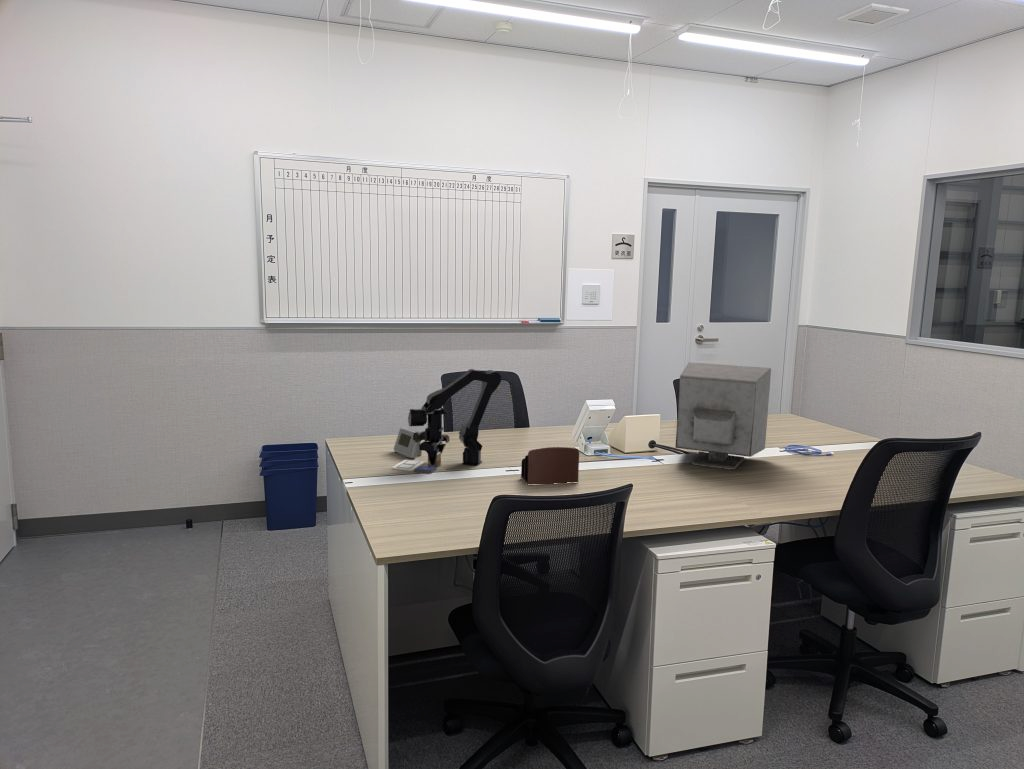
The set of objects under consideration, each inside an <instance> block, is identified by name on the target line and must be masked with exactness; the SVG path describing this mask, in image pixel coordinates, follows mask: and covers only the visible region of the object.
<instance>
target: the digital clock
mask: <svg viewBox="0 0 1024 769" xmlns="http://www.w3.org/2000/svg"><path fill="white" fill-rule="evenodd" d="M415 432H417V431H416V430H413V429H410V428H406V427H404V426H403V427H400V428H399V430H398V433H397V437H396V440H395V443H394V446H393V451H394V452H395V453H397V454H399V455H401V456H404V457H406V458H408V459H415V458H416V457H421V456H422V450H419V445H420V444H421V443H422V441H418V442H417V443H416V442H415V440H413V435H414V433H415Z"/></svg>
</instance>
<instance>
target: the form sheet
mask: <svg viewBox="0 0 1024 769" xmlns="http://www.w3.org/2000/svg"><path fill="white" fill-rule="evenodd" d="M425 464H426V461H423V460H413V459H403V460H402V461H400V462H399V463H396V464H395V465H393V466H392V467H391V469H392V470H397V471H398V470H401V471H409V472H413V471H414V469H416V468H417V467H419V466H420V465H425Z"/></svg>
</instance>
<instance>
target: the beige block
mask: <svg viewBox="0 0 1024 769" xmlns="http://www.w3.org/2000/svg"><path fill="white" fill-rule="evenodd" d="M427 466H434V467H437V468H439V467H441V466H442V454H441V452H438V454H437V457H436V460H435V463H434V465H431V463H430V460H429V456H428V455H427Z"/></svg>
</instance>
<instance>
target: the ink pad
mask: <svg viewBox="0 0 1024 769" xmlns="http://www.w3.org/2000/svg"><path fill="white" fill-rule="evenodd" d="M437 470H438V467H434V466H428V465H425V464H423V465H420V466H419V467H417V468H416V469H414V473H420V474H421V473H423V474H430V475H431V474H433V473H434V472H436V471H437Z"/></svg>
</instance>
